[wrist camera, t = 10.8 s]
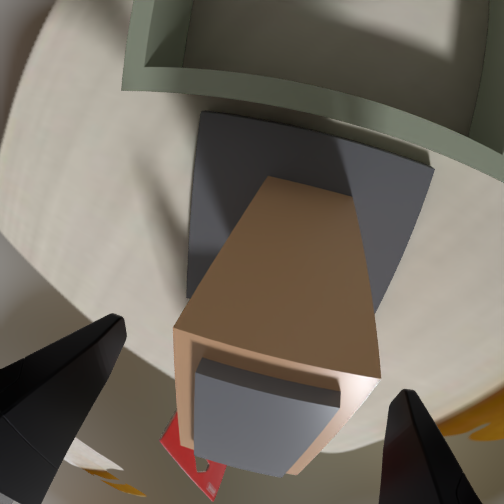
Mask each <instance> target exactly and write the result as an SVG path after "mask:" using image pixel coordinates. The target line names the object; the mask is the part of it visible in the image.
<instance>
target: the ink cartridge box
mask: <svg viewBox="0 0 504 504" xmlns="http://www.w3.org/2000/svg"><path fill="white" fill-rule="evenodd" d="M159 441H160V443H161V444H162V445H163V446H164V448H165V449H166V450H167V451H168V452H169V454H170V455H171V456H172V457H173V458H174V460H175V461H176V462H177V463H178V464H179V466H180V467H181V468H182V469H183V470H184V471H185V472H186V474H187V475H188V476H189V477H190V478H191V479H192V481H193V482H194V483H195V484H196V485H197V486H198V487H199V488H200V489H201V490H202V491H203V492H204V493H205V494H206V495H207V497H208V498H209V499H210V500H211V501H212V502H213V501H214V499H215V497H216V494H217V491H218V489H219V486H220V483H221V481H222V478H223V475H224V472H225V469H226V466H227V465H225V464H221V463H217V462H214V461H211V460H207V459H206V460H207V462H208V466H207V468H206V470H205V471H202V472H197V470H196V461H195V457H194V450H193V449H190V448H187V447H184V446H181V445H180V435H179V424H178V413H177V408H176V410H175V412H174V414H173V415H172V417H171V419H170V421H169V422H168V424H167V426H166V428H165V430H164V432H163V433H162V435H161V436H160V438H159Z"/></svg>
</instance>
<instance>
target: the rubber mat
mask: <svg viewBox="0 0 504 504" xmlns="http://www.w3.org/2000/svg"><path fill="white" fill-rule="evenodd" d="M434 170H435V169H434V168H432V167H431V166H429V165H426V164H424V163H421V162H418V161H415V160H413V159H410V158H407V157H404V156H401V155H398V154H395V153H392V152H389V151H386V150H383V149H380V148H376V147H373V146H370V145H366V144H363V143H360V142H356V141H353V140H349V139H345V138H342V137H338V136H334V135H330V134H326V133H322V132H318V131H314V130H310V129H306V128H301V127H297V126H292V125H288V124H283V123H278V122H273V121H268V120H262V119H257V118H251V117H245V116H239V115H233V114H226V113H219V112H212V111H201V114H200V122H199V131H198V140H197V149H196V159H195V169H194V180H193V192H192V204H191V218H190V233H189V251H188V271H187V297H186V298H189V299H191V297H192V295H193V294H194V292H195V290H196V289H197V287H198V285H199V284H200V282H201V281H202V279H203V277H204V276H205V274H206V272H207V271H208V269H209V268H210V266H211V264H212V263H213V261H214V260H215V258H216V256H217V255H218V253H219V252H220V250H221V248H222V247H223V245H224V244H225V242H226V240H227V239H228V237H229V236H230V234H231V232H232V231H233V229H234V228H235V226H236V225H237V223H238V221H239V220H240V218H241V217H242V215H243V214H244V212H245V210H246V209H247V207H248V206H249V204H250V203H251V201H252V200H253V198H254V196H255V195H256V193H257V192H258V190H259V189H260V187H261V186H262V184H263V183H264V181H265V179H266V178H267V176H271V177H275V178H280V179H284V180H288V181H292V182H297V183H301V184H305V185H309V186H313V187H317V188H321V189H325V190H328V191H332V192H336V193H340V194H343V195H347V196H351V197H353V201H354V205H355V210H356V214H357V219H358V223H359V228H360V233H361V238H362V243H363V248H364V253H365V258H366V264H367V270H368V276H369V282H370V288H371V294H372V301H373V308H374V315H375V313H376V311H377V309H378V307H379V305H380V303H381V301H382V299H383V297H384V295H385V293H386V290H387V288H388V286H389V284H390V282H391V280H392V278H393V276H394V273H395V271H396V269H397V267H398V265H399V262H400V260H401V258H402V255H403V253H404V251H405V248H406V246H407V244H408V241H409V239H410V236H411V234H412V231H413V229H414V226H415V224H416V221H417V219H418V216H419V213H420V211H421V208H422V205H423V203H424V200H425V197H426V194H427V191H428V188H429V185H430V183H431V180H432V176H433V173H434Z"/></svg>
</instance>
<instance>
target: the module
mask: <svg viewBox="0 0 504 504" xmlns="http://www.w3.org/2000/svg"><path fill="white" fill-rule="evenodd" d="M173 343H174V367H175V384H176V399H177V413H178V424H179V435H180V445H181V446H184V447H187V448H190V449H193V450H194V455H195V456H198V457H201V458H204V459H207V460H211V461H214V462H217V463H221V464H225V465H228V466H232V467H236V468H240V469H244V470H248V471H252V472H256V473H261V474H266V475H271V476H276V477H283V475H284V474H285V473H287V474H293V475H297V474H298V473H299V472H300V471H302V470H303V469H304V467H306V466H307V465H308V464H309V462H311V460H313V459H314V457H315V456H316V455H317V454H318V453H319V452H320V451H321V450H322V449H323V448H324V447H325V446H326V445H327V444H328V443H329V442H330V441H331V440H332V438H333V437H334V436H335V435H336V434H337V433H338V432H339V431H340V430H341V428H342V427H343V426H344V425H345V424H346V423H347V421H348V420H349V419H350V418H351V417H352V416H353V414H354V413H355V412H356V411H357V410H358V408H359V407H360V406H361V405H362V403H363V402H364V401H365V400H366V398H367V397H368V396H369V394H370V393H371V392H372V391H373V389H374V388H375V387H376V385H377V384H378V383H379V381H380V380H381V370H380V359H379V349H378V340H377V331H376V323H375V315H374V308H373V301H372V294H371V288H370V282H369V276H368V270H367V264H366V258H365V253H364V248H363V243H362V238H361V233H360V228H359V223H358V219H357V214H356V210H355V205H354V201H353V197H351V196H347V195H343V194H340V193H336V192H332V191H328V190H325V189H321V188H317V187H313V186H309V185H305V184H301V183H297V182H292V181H288V180H284V179H280V178H275V177H271V176H267V178H266V179H265V181H264V183H263V184H262V186H261V187H260V189H259V190H258V192H257V193H256V195H255V196H254V198H253V200H252V201H251V203H250V204H249V206H248V207H247V209H246V210H245V212H244V214H243V215H242V217H241V218H240V220H239V221H238V223H237V225H236V226H235V228H234V229H233V231H232V232H231V234H230V236H229V237H228V239H227V240H226V242H225V244H224V245H223V247H222V248H221V250H220V252H219V253H218V255H217V256H216V258H215V260H214V261H213V263H212V264H211V266H210V268H209V269H208V271H207V272H206V274H205V276H204V277H203V279H202V281H201V282H200V284H199V285H198V287H197V289H196V290H195V292H194V294H193V295H192V297H191V299H190V300H189V302H188V303H187V305H186V307H185V308H184V310H183V312H182V313H181V315H180V317H179V318H178V320H177V322H176V323H175V325H174V327H173Z"/></svg>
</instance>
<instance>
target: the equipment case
mask: <svg viewBox="0 0 504 504" xmlns="http://www.w3.org/2000/svg"><path fill="white" fill-rule="evenodd" d="M192 5H193V0H134V2H133V7H132V12H131V18H130V24H129V30H128V37H127V44H126V51H125V59H124V68H123V77H122V88H121V91H151V92H169V93H182V94H194V95H203V96H212V97H221V98H228V99H235V100H242V101H249V102H255V103H261V104H267V105H272V106H277V107H282V108H287V109H292V110H297V111H302V112H306V113H311V114H315V115H319V116H323V117H327V118H331V119H335V120H339V121H343V122H346V123H350V124H354V125H357V126H361V127H364V128H367V129H371V130H374V131H377V132H380V133H384V134H387V135H390V136H393V137H396V138H399V139H402V140H404V141H407V142H410V143H413V144H416V145H418V146H421V147H424V148H426V149H429V150H432V151H434V152H437V153H439V154H442V155H444V156H447V157H449V158H451V159H454V160H456V161H458V162H461V163H463V164H465V165H468V166H470V167H472V168H474V169H476V170H479V171H481V172H483V173H485V174H487V175H489V176H491V177H493V178H495V179H497V180H499V181H501V182H503V183H504V0H490V2H489V20H488V32H487V41H486V50H485V57H484V64H483V70H482V76H481V82H480V87H479V92H478V97H477V102H476V106H475V110H474V115H473V119H472V123H471V127H470V131H469V134H468V137H466V136H464V135H461V134H459V133H457V132H455V131H452V130H450V129H448V128H446V127H443V126H441V125H438V124H436V123H433V122H431V121H429V120H426V119H423V118H421V117H418V116H416V115H413V114H410V113H407V112H405V111H402V110H399V109H396V108H393V107H390V106H387V105H384V104H381V103H378V102H375V101H371V100H368V99H365V98H361V97H358V96H354V95H350V94H347V93H343V92H339V91H335V90H331V89H327V88H323V87H319V86H314V85H310V84H305V83H300V82H295V81H290V80H284V79H279V78H273V77H267V76H260V75H253V74H246V73H238V72H230V71H220V70H209V69H195V68H182V66H183V59H184V52H185V45H186V39H187V33H188V27H189V21H190V16H191V10H192Z"/></svg>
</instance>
